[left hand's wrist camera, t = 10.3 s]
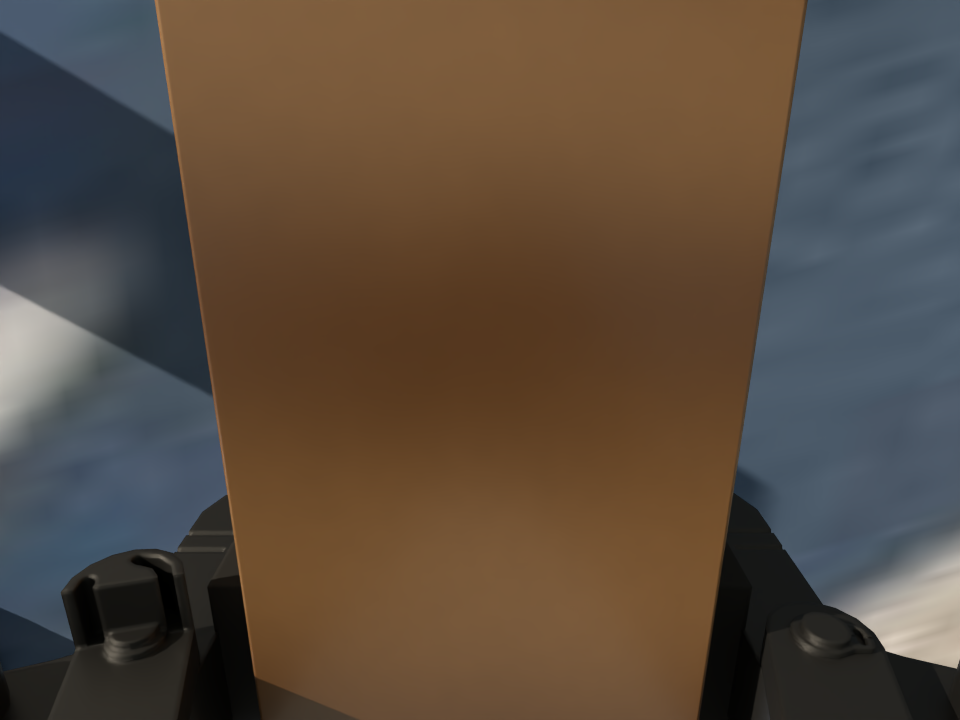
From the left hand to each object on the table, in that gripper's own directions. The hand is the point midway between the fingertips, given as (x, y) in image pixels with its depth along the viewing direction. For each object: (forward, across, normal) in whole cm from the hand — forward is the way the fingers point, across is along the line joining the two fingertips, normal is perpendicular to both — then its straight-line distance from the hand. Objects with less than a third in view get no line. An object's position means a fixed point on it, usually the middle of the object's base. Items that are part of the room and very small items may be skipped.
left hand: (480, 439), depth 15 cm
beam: (+1, 0, -26) cm, 26 cm away
